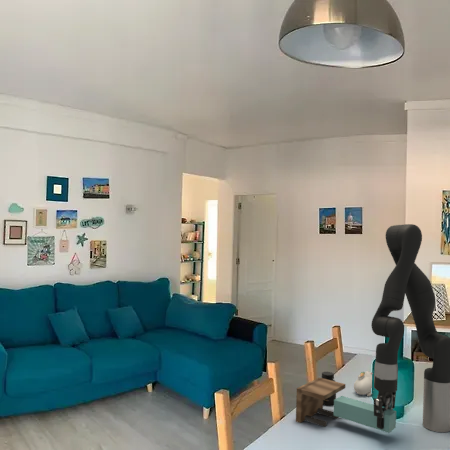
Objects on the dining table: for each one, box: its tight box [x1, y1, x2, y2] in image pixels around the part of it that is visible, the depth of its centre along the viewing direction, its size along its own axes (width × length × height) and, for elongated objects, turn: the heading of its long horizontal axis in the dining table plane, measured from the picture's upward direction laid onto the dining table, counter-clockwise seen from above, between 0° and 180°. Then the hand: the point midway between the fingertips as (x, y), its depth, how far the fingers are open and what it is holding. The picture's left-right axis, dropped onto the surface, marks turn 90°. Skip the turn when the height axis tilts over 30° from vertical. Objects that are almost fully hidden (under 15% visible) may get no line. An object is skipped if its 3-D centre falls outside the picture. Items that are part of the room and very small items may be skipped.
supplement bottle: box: [321, 371, 337, 407], centre depth 190 cm, size 7×7×12 cm
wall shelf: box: [295, 377, 346, 428], centre depth 175 cm, size 17×11×12 cm, turn 141°
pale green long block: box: [333, 395, 397, 434], centre depth 164 cm, size 6×20×6 cm, turn 50°
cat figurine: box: [353, 370, 373, 397], centre depth 204 cm, size 10×8×15 cm
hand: (383, 425), depth 160 cm, fingers closed on pale green long block, 6 cm apart
